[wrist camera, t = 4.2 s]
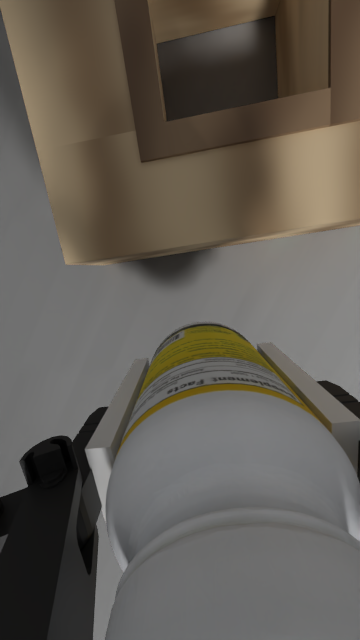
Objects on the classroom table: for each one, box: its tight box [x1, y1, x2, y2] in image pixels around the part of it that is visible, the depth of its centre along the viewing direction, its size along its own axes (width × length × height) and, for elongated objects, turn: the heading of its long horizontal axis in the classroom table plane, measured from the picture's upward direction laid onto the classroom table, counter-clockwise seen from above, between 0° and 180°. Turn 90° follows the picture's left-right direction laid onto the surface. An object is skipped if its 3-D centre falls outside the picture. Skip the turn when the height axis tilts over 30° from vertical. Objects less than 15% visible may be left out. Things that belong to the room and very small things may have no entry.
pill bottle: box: [105, 322, 360, 640], centre depth 8 cm, size 6×6×11 cm
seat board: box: [0, 0, 360, 265], centre depth 13 cm, size 22×20×6 cm
